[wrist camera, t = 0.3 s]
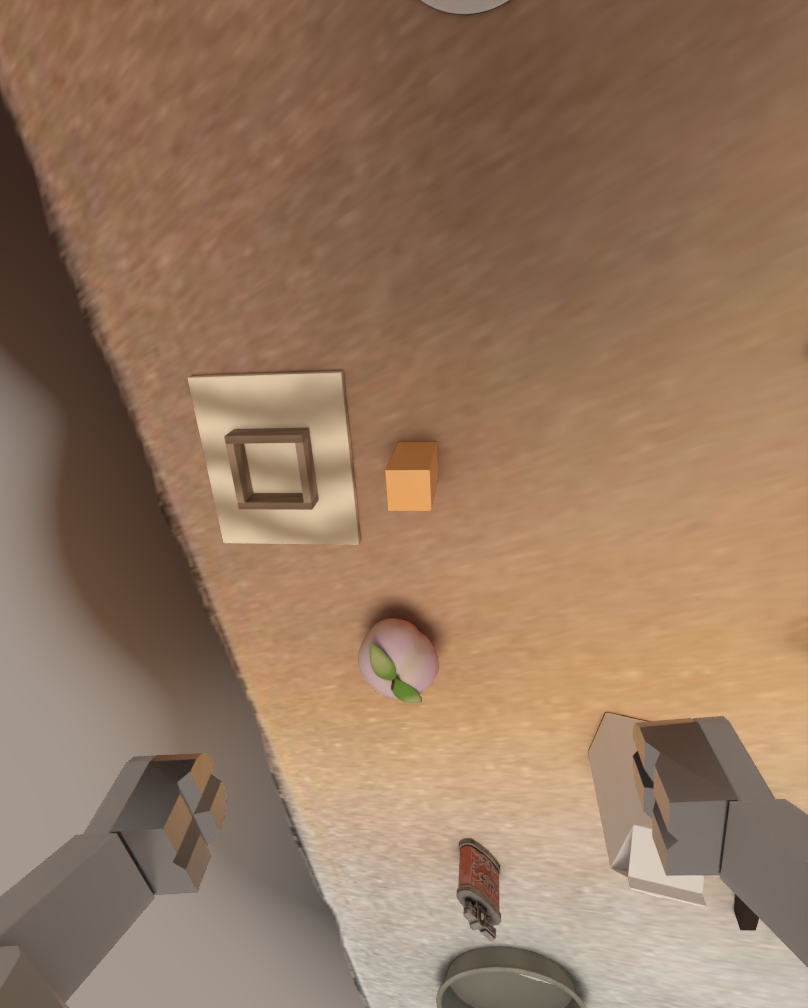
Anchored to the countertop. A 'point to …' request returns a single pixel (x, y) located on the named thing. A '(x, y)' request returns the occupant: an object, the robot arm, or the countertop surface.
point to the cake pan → (506, 981)
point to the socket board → (279, 456)
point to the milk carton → (631, 816)
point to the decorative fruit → (398, 660)
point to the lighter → (479, 887)
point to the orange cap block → (412, 476)
